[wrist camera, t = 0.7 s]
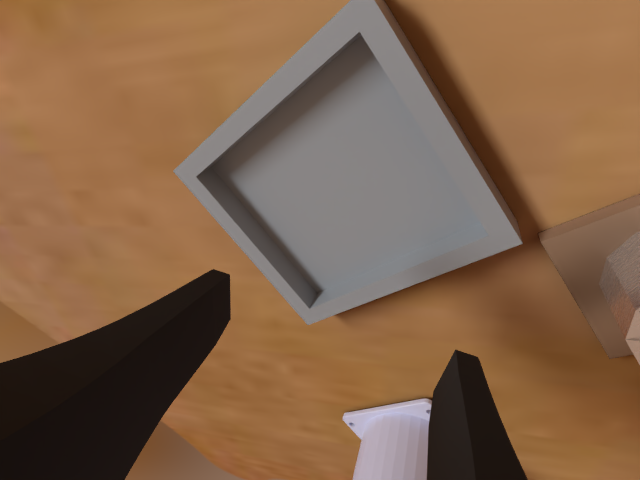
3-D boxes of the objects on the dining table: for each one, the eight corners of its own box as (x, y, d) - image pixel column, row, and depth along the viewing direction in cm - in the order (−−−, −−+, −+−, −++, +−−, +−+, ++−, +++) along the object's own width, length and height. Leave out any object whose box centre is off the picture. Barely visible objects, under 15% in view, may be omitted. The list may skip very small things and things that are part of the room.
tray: (517, 221, 18) (522, 243, 16) (317, 304, 25) (307, 325, 23) (376, -13, 15) (365, -15, 13) (194, 158, 22) (173, 171, 20)
